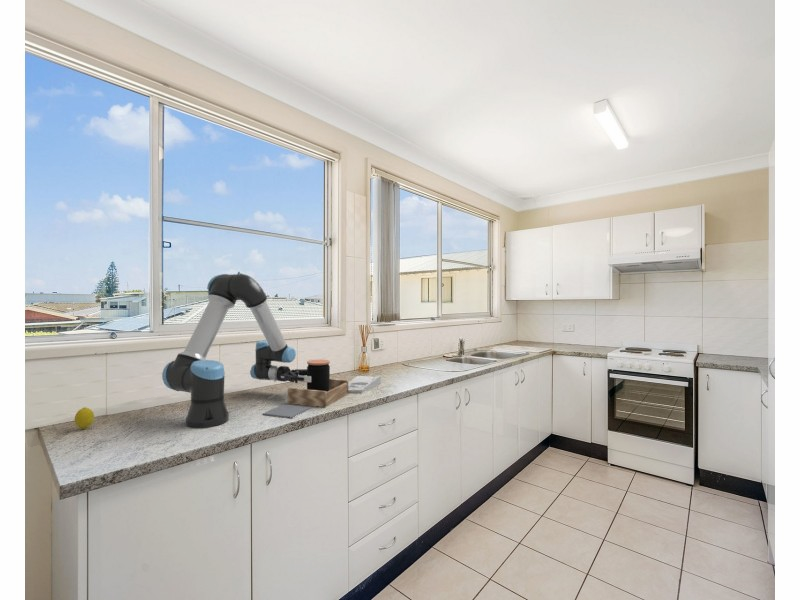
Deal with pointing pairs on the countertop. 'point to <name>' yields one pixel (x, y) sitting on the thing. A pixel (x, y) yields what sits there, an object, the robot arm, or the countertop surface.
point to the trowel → (363, 384)
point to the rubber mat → (286, 411)
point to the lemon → (84, 418)
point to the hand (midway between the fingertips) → (318, 376)
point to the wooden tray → (319, 394)
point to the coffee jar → (318, 375)
